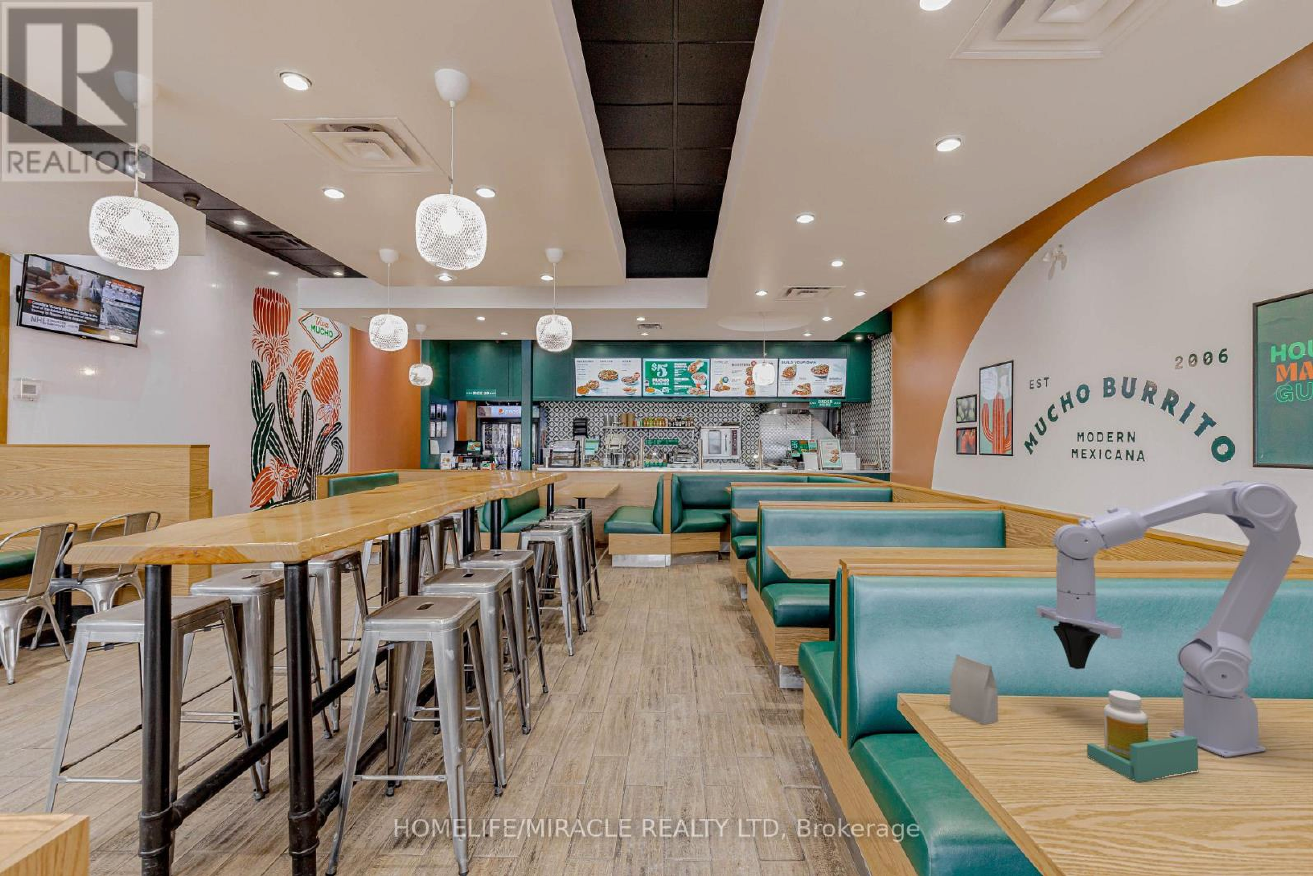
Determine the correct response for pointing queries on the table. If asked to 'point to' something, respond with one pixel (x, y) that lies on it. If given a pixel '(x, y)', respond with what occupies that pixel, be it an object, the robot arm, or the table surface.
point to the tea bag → (973, 691)
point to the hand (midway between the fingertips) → (1077, 667)
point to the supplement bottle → (1124, 723)
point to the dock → (1151, 758)
